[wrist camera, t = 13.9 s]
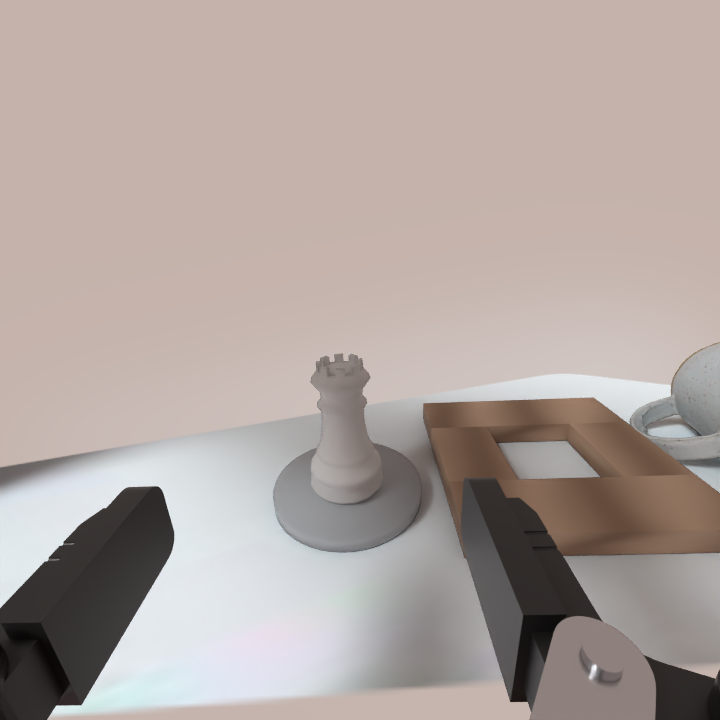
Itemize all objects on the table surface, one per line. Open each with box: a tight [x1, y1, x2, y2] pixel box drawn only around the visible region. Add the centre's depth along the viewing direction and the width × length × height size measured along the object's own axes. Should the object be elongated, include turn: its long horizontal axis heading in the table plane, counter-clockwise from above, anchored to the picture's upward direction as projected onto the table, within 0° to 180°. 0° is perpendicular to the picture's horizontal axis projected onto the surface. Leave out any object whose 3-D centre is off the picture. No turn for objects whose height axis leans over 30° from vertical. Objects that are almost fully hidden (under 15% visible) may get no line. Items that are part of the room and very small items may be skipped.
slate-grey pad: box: [273, 443, 421, 552], centre depth 23 cm, size 9×9×1 cm
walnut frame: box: [423, 398, 720, 558], centre depth 24 cm, size 14×14×1 cm
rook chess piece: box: [311, 354, 384, 505], centre depth 21 cm, size 4×4×8 cm
